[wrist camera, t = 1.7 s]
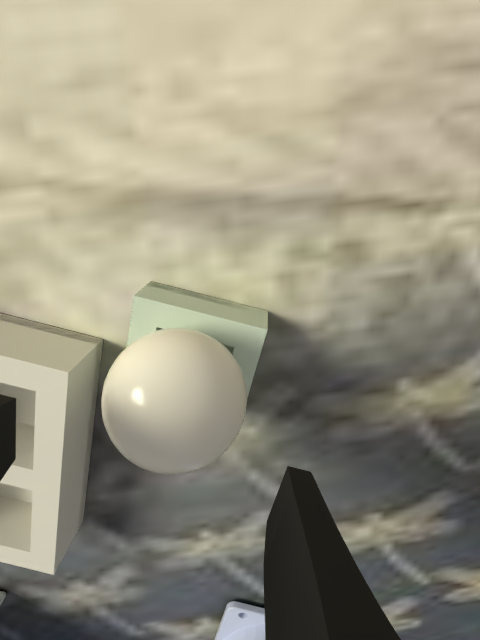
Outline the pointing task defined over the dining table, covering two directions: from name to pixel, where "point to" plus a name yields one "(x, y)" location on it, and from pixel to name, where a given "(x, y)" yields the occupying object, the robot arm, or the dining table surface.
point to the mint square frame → (202, 321)
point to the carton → (46, 438)
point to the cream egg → (174, 401)
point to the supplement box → (2, 596)
